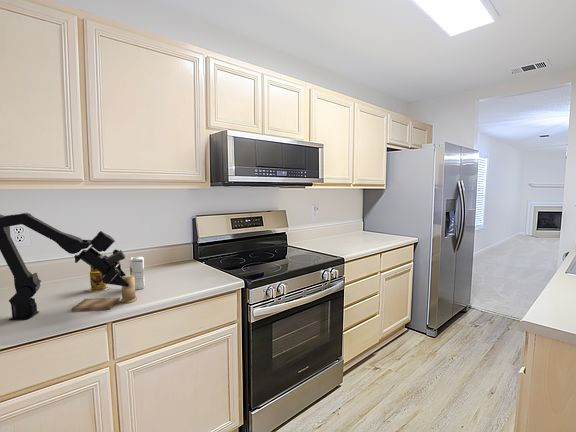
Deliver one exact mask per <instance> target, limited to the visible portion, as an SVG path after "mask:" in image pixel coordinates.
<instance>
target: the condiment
mask: <svg viewBox="0 0 576 432" xmlns="http://www.w3.org/2000/svg"><path fill="white" fill-rule="evenodd" d="M92 268H93V267H91V266H90V270H89V271H90V272H89V280H90V288H86V289H85V291H87V292H88V291H89V293H94V294H95V293H96V294H97V293H99V292H103V291H106V290H109V289H110V287H107V284H105V283H104V282H103V279H102V278H103V276H102V275H101V274H102V273H100V272H99V271H97V270H96V269H95V270H93V269H92Z"/></svg>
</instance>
